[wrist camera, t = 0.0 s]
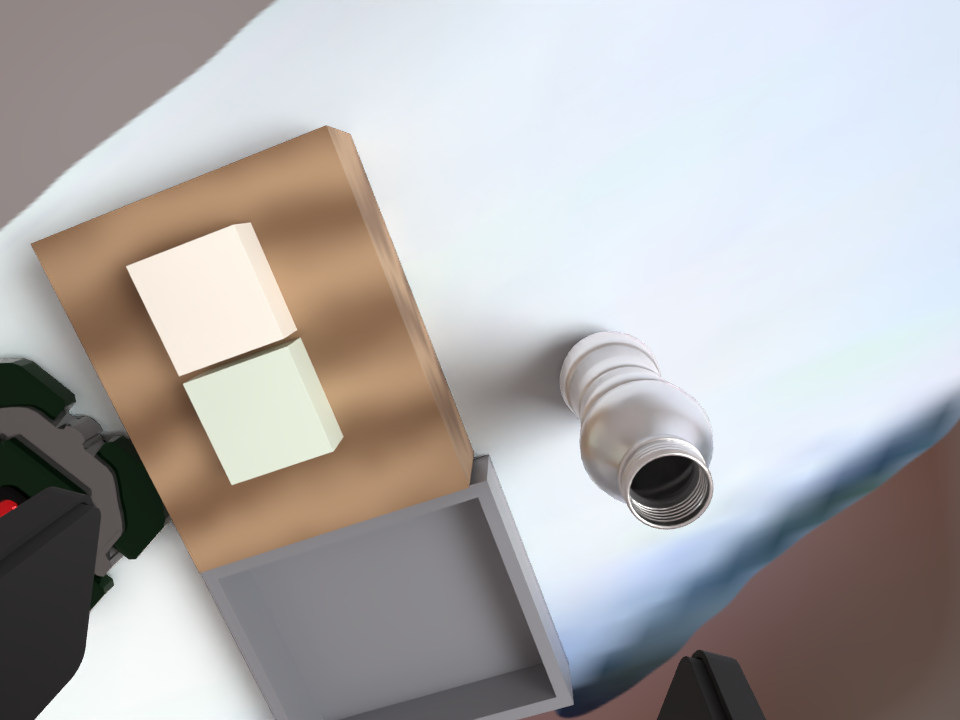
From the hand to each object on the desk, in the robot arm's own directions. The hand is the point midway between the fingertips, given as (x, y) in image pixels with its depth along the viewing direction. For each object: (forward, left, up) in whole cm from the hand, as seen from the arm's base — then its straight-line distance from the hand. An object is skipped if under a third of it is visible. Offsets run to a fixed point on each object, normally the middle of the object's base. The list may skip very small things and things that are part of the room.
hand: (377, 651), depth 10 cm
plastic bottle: (+8, +6, -38) cm, 39 cm away
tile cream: (-6, -15, -31) cm, 35 cm away
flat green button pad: (+3, -38, -38) cm, 53 cm away
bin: (+21, -14, -37) cm, 45 cm away
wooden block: (-1, -14, -37) cm, 40 cm away
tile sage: (+2, -14, -31) cm, 35 cm away
